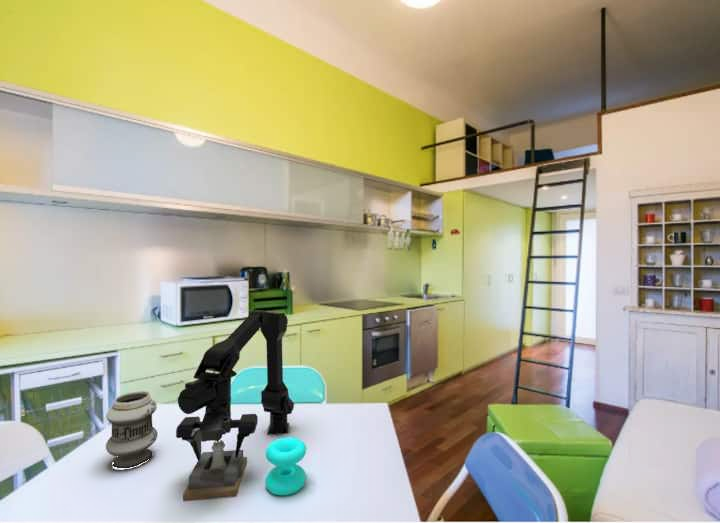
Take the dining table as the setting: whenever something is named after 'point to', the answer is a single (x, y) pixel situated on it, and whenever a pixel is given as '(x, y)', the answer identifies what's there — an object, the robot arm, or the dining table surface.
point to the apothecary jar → (131, 429)
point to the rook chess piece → (218, 455)
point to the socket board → (215, 490)
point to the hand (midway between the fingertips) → (218, 458)
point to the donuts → (285, 466)
